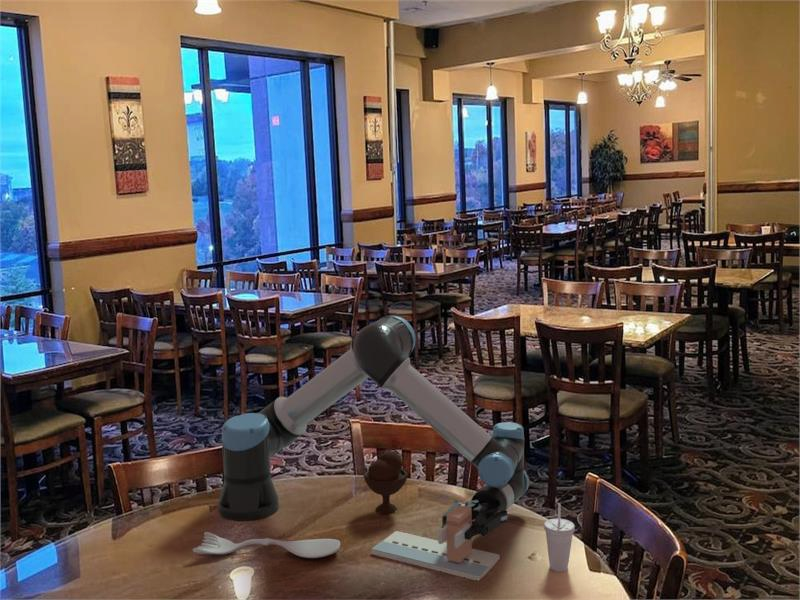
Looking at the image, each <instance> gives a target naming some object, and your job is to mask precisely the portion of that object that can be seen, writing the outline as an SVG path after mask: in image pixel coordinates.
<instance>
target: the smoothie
mask: <svg viewBox="0 0 800 600" xmlns="http://www.w3.org/2000/svg"><path fill="white" fill-rule="evenodd" d="M561 504H562V503H557V518H551V519H547V520H546V521H544V524H543V529H544V531H545V538H546V545H547V546H546V547H547V553H548V562H549V563H548V564H549V569H550V570H552V571H554V572H557V573H562V572H566V571H567V570H568V568H569V563H570V562H569V561H570V557H571V556H570V555H571V548H572V543H573V542H572V540H573V533H575V531H576V529H575V526H576V525H575V524H574V523H573V522H572V521H571V520H568V519H564V518H561V517H562V516H561V515H562V513H561V510H562V509H561V508H562V507H561V506H562V505H561Z"/></svg>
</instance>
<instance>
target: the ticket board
mask: <svg viewBox="0 0 800 600" xmlns="http://www.w3.org/2000/svg"><path fill="white" fill-rule="evenodd" d="M371 555H374V556H377V557H382V558H385V559H389V560H394V561H397V560H398V561H399V562H402V563H405V562H406V564H410V565H414V566H417V565H418V567H421V568H425V569H430V570H433V571H438V572H440V571H441V573H444V574H445V573H446V574H449V575H453V576H457V577H462V578H464V577H465V578H464V579H469V580H472V581H476V580H477V582H480V581H481V580H482V579H483V578H484V577H485V576H486V574H487V573H488V572H489V571H490V570H491V569H492V568H493V567H494V566H495V565H496V564H497V563H496V562H497V561H498V560H499V561H500V559H501V558H500V557H501V555H500V554H496V553H494V552H488V551H485V550H480V549H475V548H472V552H471V553H469V554H468V555H467V556H466V557H465V558H464V559H463V560H462V561H461V562H460V563H458V562H454V561H450V560H447V541H445V542H444V543H443V544H438V540H437V539H432V538H429V537H424V536H420V535H415V534H411V533H406V532H402V531H398V530H395V531H394V532H393V533H391V534H390V535H389V536H387V537H386V538H385V539H384V540H381V541H380V542H378V543H376V545H375V546H373V547H372V548H371ZM398 561H397V562H398ZM499 561H498V562H499ZM495 563H496V564H495ZM481 578H482V579H481ZM480 579H481V580H480ZM479 580H480V581H479Z"/></svg>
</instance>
